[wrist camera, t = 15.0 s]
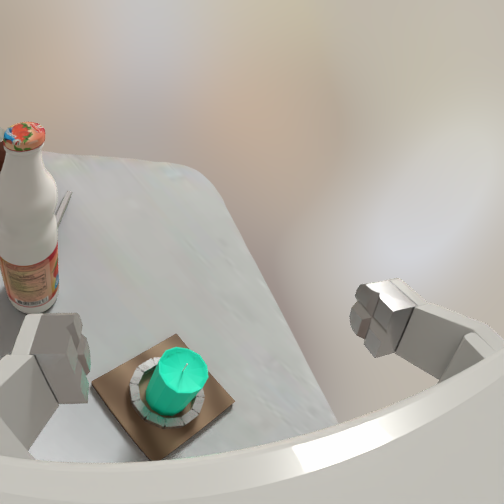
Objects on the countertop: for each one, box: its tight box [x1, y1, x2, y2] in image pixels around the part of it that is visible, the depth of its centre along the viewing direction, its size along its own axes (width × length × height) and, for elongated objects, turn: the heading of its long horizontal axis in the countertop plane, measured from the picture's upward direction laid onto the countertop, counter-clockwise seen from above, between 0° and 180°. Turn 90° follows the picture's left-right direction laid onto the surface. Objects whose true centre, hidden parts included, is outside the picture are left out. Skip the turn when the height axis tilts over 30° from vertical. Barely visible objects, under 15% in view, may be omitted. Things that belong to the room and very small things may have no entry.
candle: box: [146, 347, 208, 416], centre depth 38 cm, size 6×6×12 cm
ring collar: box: [128, 357, 205, 429], centre depth 41 cm, size 10×10×2 cm
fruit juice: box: [0, 122, 59, 314], centre depth 34 cm, size 9×9×28 cm
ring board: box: [92, 334, 235, 461], centre depth 42 cm, size 16×14×1 cm
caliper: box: [55, 191, 72, 229], centre depth 52 cm, size 20×1×6 cm, turn 13°
